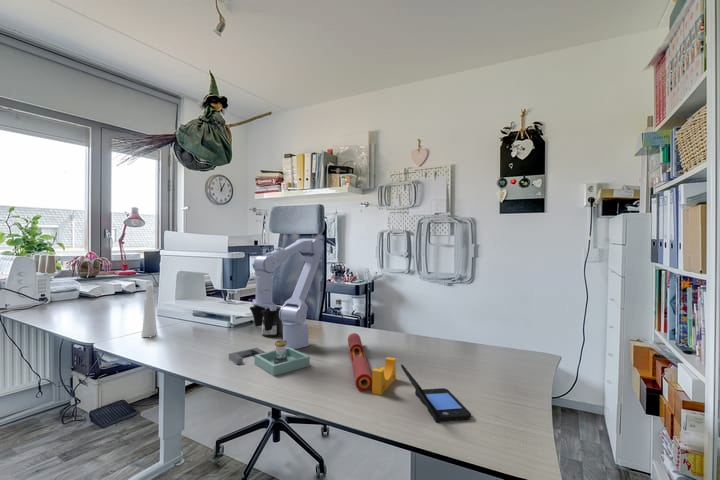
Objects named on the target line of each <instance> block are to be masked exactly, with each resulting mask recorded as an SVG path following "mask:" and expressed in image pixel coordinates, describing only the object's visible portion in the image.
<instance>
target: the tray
mask: <svg viewBox="0 0 720 480" xmlns="http://www.w3.org/2000/svg"><path fill="white" fill-rule="evenodd" d="M265 352H266V351H265ZM275 358H276V349H275V350H272V351H268V352H266V353H262V354H258V355H254V365H256V366H257V367H258V368H259V369H261V370H263V371H265V372H266V373H268V374H269V375H271V376H272V377H273V376H274V377H275V376H279V375H282V374H285V373H289V372H291V371H296V370H300V369H302V368H303V369H304V368H307V367H310V366H311V364H310V363H311V361H310V359H311V357H310V356H309V355H307V354H305V353H303V352H301V351H298V350H297V349H292V348H290V347H288V348H286V358H288V361H287V362H283V363H279V364H274V359H275Z"/></svg>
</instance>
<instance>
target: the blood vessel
mask: <svg viewBox="0 0 720 480" xmlns="http://www.w3.org/2000/svg"><path fill="white" fill-rule="evenodd" d="M361 339H362V338H361V336H360V335H359V334H358V333H356V332H353V333H350V334H349V335H348V337H347V344H348V349H349V355H350V360H351V361H350V362H351V365H352V366H351V368H352V372H353V378H354V384H355V387H356V389H357V390H358V391H361V392H363V391H367V392H368V391H369V390H372V373H371V369H370V367H369V363H368V360H367V358H366V355H365V352H364V351H365V350H364V347H363V344H362V340H361Z"/></svg>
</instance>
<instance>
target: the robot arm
mask: <svg viewBox="0 0 720 480" xmlns="http://www.w3.org/2000/svg"><path fill="white" fill-rule="evenodd" d="M324 250H325V248H324V244H323V240H321V239H320V238H317V237H316V238H303V237H302V238H299V239H296V240H295V241H294V242H293V243H291V244H290V245H288V246H286V247H284V248H283V247H278V246H277V247H275V248H274V250H272V251H270V252H266V253H265V254H264V255H258V256H257V257H256V258H255V259H254V260H253V263H252V265H251V266H252V269H253V271H254V275H255V299H254V298H253V299H252V303H251V304H252V306H250V307H249V310H250V313H252V317H253V321H254V325H255V327H262V322H263V319H264V325H265V330H266V331H268V330H272V326H273V323H274V319H275V317H276V315H277V313H278V310H276V306H277V304H275V303H274V302H273V286H274V285H273V283H274V282H273V279H274V277H273V276H274V275H273V274H274V273H275V271H276V270H277V267H279V266H280V265H282V264H284V263H286V262H287V261H289V257H290V256H293V255H295V254H297V253H299V256H300V258H301V259H302V260H303V261H304V265H303V268H302V269H301V270H302V271H301V272H300V276H299V277H298V280H297V283H296V286H295V287H294V291H293V293H292V295H291V297H290V298H288V299H287V300H285V301H284V303H283V305H282V306H280V307H281V309H280V311H279V318H280V320H281V321H282V323H283V334H282V337H283V338H282V340H284V341H287V345H286V348H288V347H290V348H292V349H294V350H297V349H301V348H305V347H308V346H311V345H310V343H309V338H310V337H309V336H310V335H309V333H310V332H309V331H310V330H309V326H308V323H307V322H306V320H307V315H308V314H307V312H308V309H309V307H308V305H307V303H306V302H305V301H306V298H307V297H308V293H309V291H310V289H311V285H312V282H313V281H314V277H315V275H316V272H317V269H318V267H319V264H320V260H321V258H322V255H323V253H324ZM265 308H266V309H267V310H265Z"/></svg>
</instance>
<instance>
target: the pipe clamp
mask: <svg viewBox="0 0 720 480" xmlns="http://www.w3.org/2000/svg"><path fill="white" fill-rule="evenodd" d="M396 367H397V358H396V357H389V356H387V357H386V358H385V364H384V366H382V367H380V368H377V367H375V368H373V369H372V370H371V371H372V373H371V376H372V387H371V393H372V394H373V395H374V394H375V395H380V396H382V394H383V393H384V392H385V391H386V390H388V388H389V387H390V386H391V385H392V384H393V383H392V382H394V381H396V379H397V377H396V376H397V372H396V371H397V368H396Z"/></svg>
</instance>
